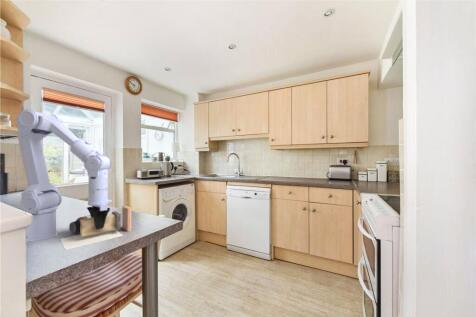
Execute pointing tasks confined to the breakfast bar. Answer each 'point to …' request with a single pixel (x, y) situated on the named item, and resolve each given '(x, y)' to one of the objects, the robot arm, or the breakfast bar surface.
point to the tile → (126, 218)
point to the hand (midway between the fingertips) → (98, 227)
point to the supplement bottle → (77, 224)
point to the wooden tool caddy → (110, 224)
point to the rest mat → (88, 239)
